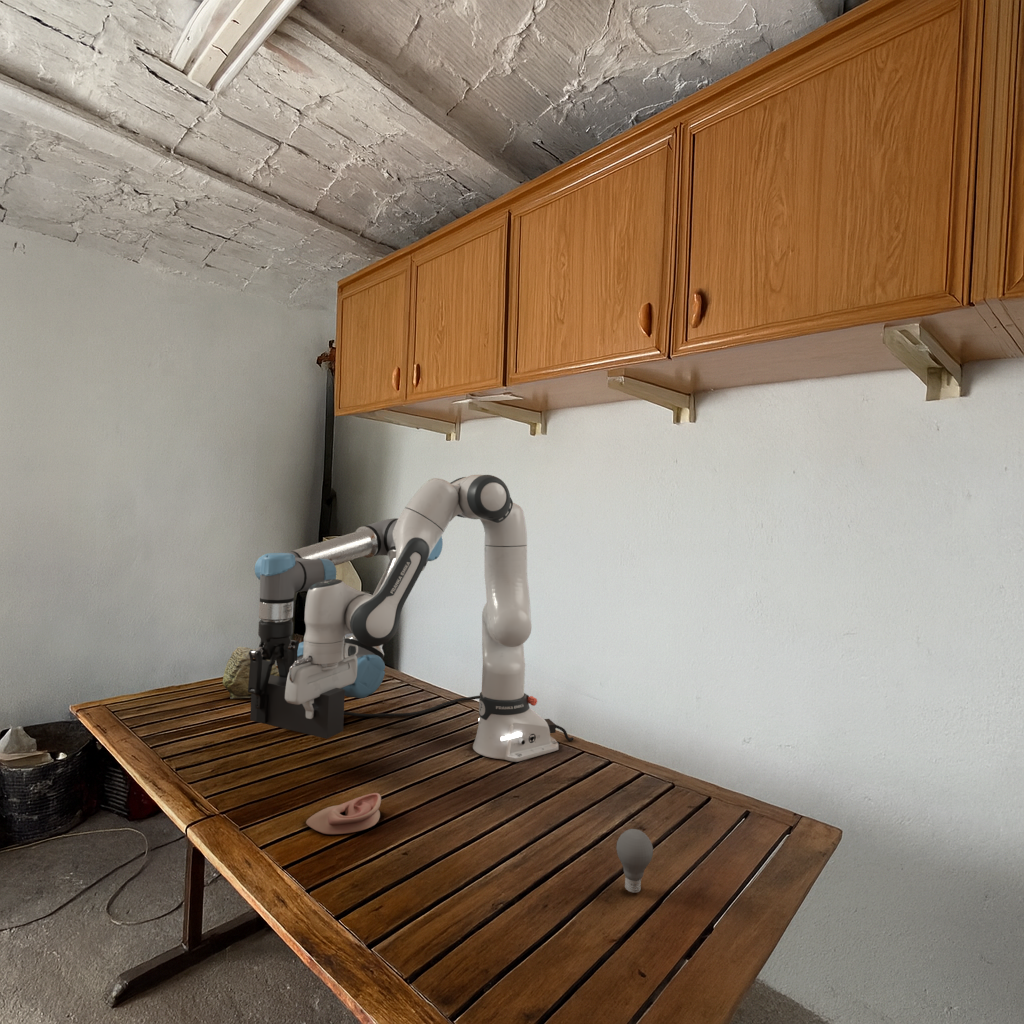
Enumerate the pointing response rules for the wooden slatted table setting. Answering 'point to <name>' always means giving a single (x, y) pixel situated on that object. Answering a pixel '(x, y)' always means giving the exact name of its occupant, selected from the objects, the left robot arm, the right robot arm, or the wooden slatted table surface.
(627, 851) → the light bulb
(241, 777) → the wooden slatted table surface
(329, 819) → the anatomical model
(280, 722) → the bar
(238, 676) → the fossil
